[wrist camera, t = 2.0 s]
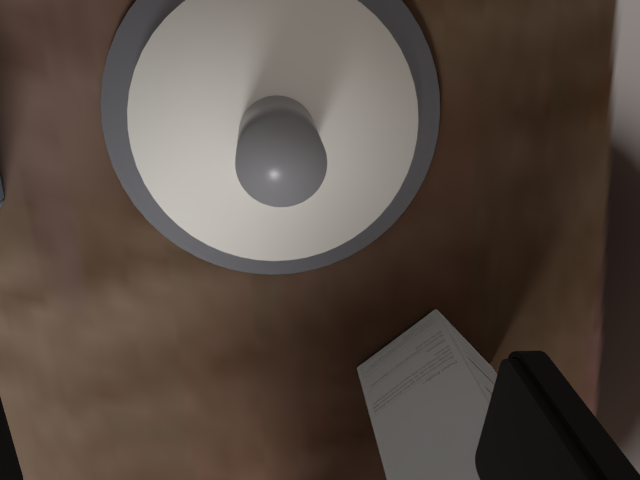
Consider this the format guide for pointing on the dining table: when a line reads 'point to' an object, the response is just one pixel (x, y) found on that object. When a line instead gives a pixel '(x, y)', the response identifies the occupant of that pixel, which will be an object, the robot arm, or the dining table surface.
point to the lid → (272, 123)
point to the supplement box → (428, 402)
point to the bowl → (1, 194)
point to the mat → (118, 72)
